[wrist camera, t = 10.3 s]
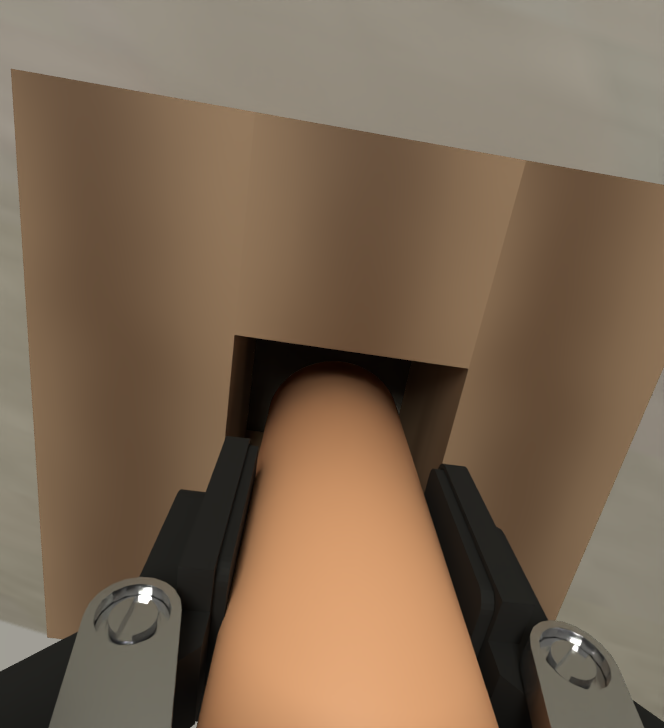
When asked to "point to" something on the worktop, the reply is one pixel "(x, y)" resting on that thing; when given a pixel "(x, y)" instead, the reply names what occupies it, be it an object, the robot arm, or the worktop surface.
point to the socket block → (318, 313)
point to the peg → (341, 577)
